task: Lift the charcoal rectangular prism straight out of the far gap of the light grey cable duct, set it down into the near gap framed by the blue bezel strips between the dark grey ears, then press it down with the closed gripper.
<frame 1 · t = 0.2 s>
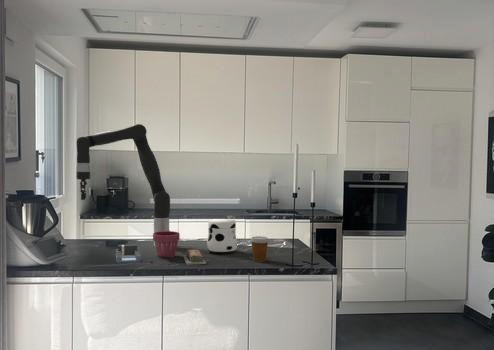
hand: (83, 199, 271), 29 cm above the countertop, tool pointing down, fingers open, 8 cm apart
milk container: (221, 252, 268), on the countertop
disposable coffee cup: (259, 260, 247), on the countertop
packaged product: (194, 261, 245), on the countertop
charcoal rectangular prism: (127, 254, 253), point 1 cm above the countertop, touching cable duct
plant pot: (166, 257, 254), on the countertop
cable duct: (128, 258, 248), on the countertop
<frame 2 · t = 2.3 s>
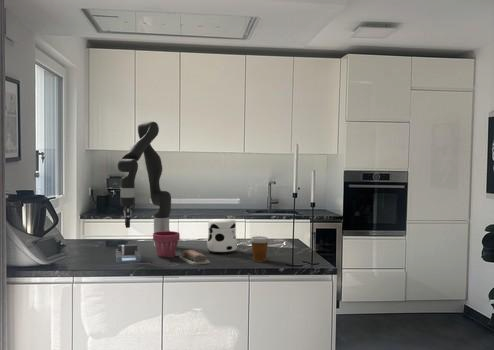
hand: (127, 226, 253), 16 cm above the countertop, tool pointing down, fingers open, 8 cm apart
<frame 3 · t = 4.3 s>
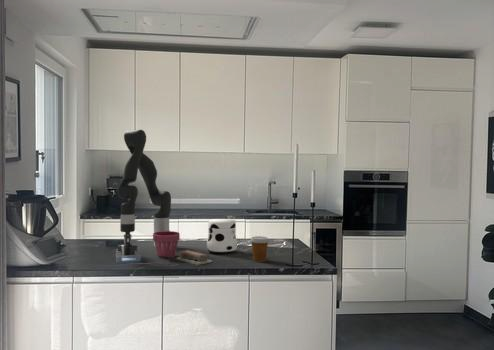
hand: (127, 254, 253), 1 cm above the countertop, tool pointing down, fingers closed on charcoal rectangular prism, 2 cm apart
charcoal rectangular prism: (127, 254, 253), point 1 cm above the countertop, touching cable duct, gripper
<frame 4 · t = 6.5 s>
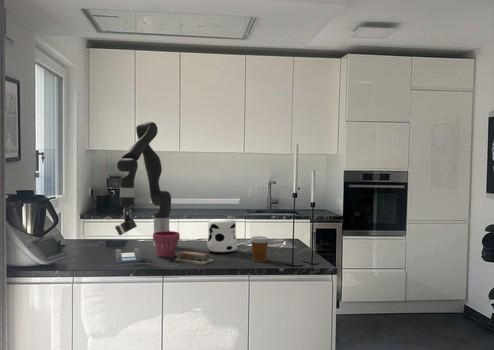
hand: (126, 228, 250), 15 cm above the countertop, tool pointing down, fingers closed on charcoal rectangular prism, 2 cm apart
charcoal rectangular prism: (128, 230, 251), point 14 cm above the countertop, tilted 27°, touching gripper
when the fingers open (2 cm above the countertop, at t = 9.3 s): charcoal rectangular prism stays where it is, resting on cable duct.
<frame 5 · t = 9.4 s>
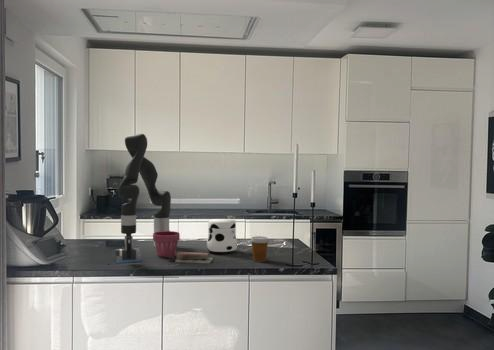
hand: (128, 256, 242), 2 cm above the countertop, tool pointing down, fingers open, 4 cm apart
charcoal rectangular prism: (125, 259, 241), point 1 cm above the countertop, touching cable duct
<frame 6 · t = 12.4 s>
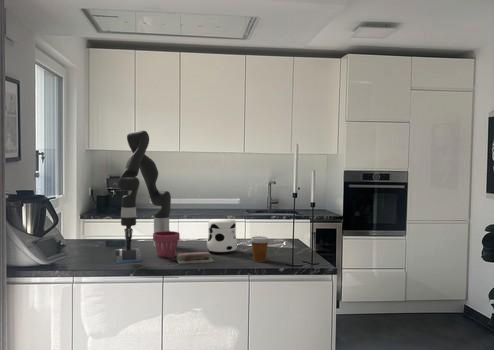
hand: (128, 249, 242), 6 cm above the countertop, tool pointing down, fingers closed
charcoal rectangular prism: (125, 259, 241), point 1 cm above the countertop, touching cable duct, gripper
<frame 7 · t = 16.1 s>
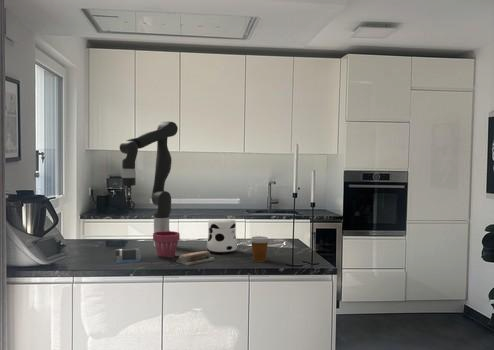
hand: (128, 207, 264), 25 cm above the countertop, tool pointing down, fingers closed
charcoal rectangular prism: (125, 259, 241), point 1 cm above the countertop, touching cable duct
at the end: charcoal rectangular prism 1.4 cm from the target spot on the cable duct, point 1.0 cm above the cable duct's base; charcoal rectangular prism tilted 0°; the gripper is holding nothing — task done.
